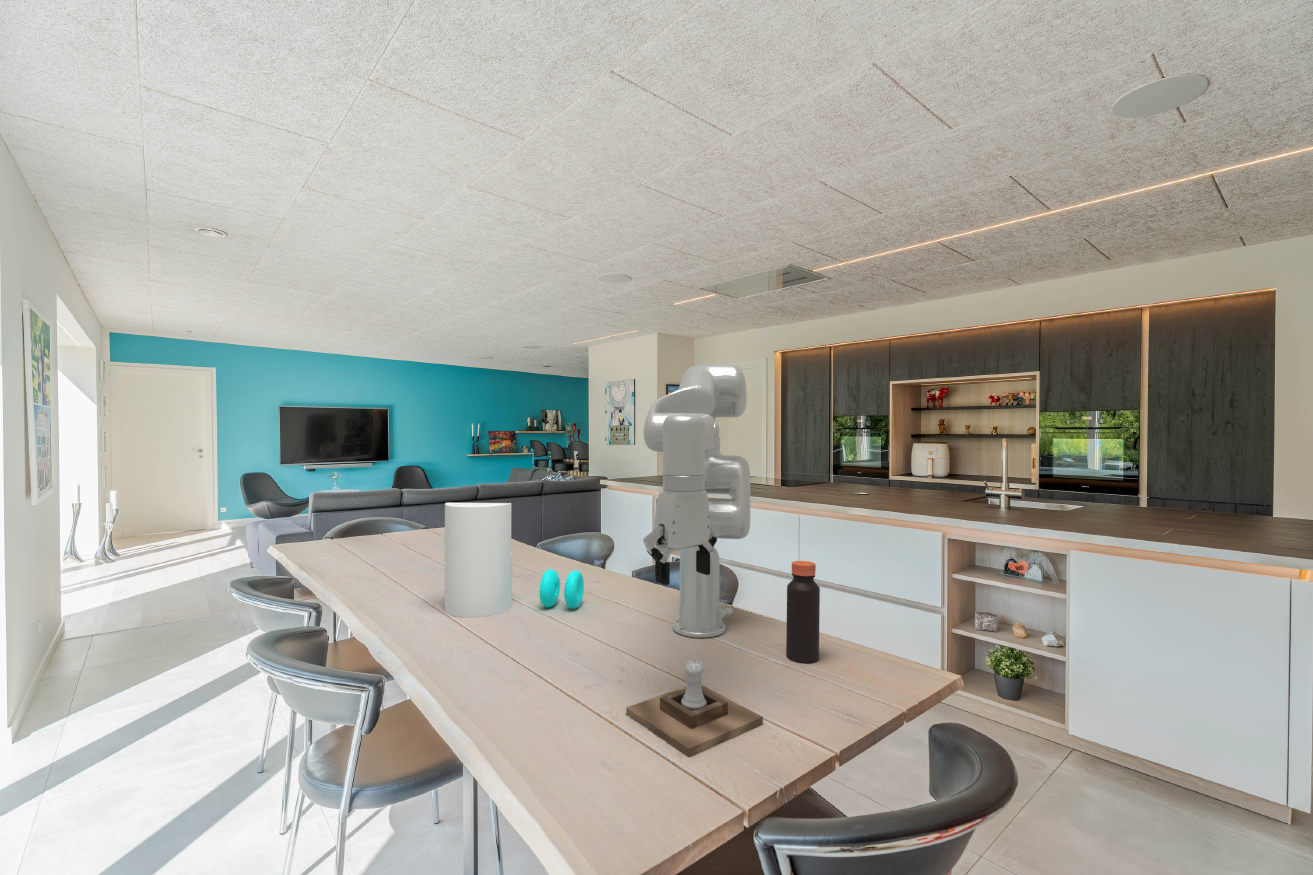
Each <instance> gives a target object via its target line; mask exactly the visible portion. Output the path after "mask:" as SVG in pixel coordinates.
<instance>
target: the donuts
mask: <svg viewBox="0 0 1313 875" xmlns="http://www.w3.org/2000/svg"><path fill="white" fill-rule="evenodd" d="M584 582H585V581H584V576H583V574H582V572H581V571H579V570H576V569H575V570H572V571H571V572H570V573H568V574H567V577H566V579H565V583H564V591H563V593H564V595H563V596H564V602H565V604H566V605H567V607H568V608H570V609H572V610H575V609H578V607H580V605H581V604H582V601H583V595H584V590H585V586H584V585H585V584H584ZM560 591H561V580H560V576H559V573H558V572H557V571H556V570H554V569H552V568H550V569H547V570H545V571H544V573H543V574H542V576H541V579H540V583H539V601H540V603H541V605H542V606H543V607H545V608H552V607H553V606H554V605H555V604H556V603H557V602H558V599H559V596H560V593H561V592H560Z"/></svg>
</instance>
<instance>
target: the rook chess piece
mask: <svg viewBox="0 0 1313 875" xmlns="http://www.w3.org/2000/svg"><path fill="white" fill-rule="evenodd" d="M702 665H703V663H702V662H700V661H699V660H695V662H694V660H690V661H686V665H685V667H684V671H685V672H686V676H685V680H686V686H685V687H686V692H685V694H684V697H683V698H682V700H681V704H682V706H684V707H686V708H687V709H689V710H691V711H694V710H697V709H700V708H702V707H705V706H706V705H707V702H706V700H705V698H704V695H703V693H702V686H701V685H702V680H703V677H702V674H703V672H704V671H705V668H704V667H703V666H702Z"/></svg>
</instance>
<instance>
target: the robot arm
mask: <svg viewBox="0 0 1313 875" xmlns="http://www.w3.org/2000/svg"><path fill="white" fill-rule="evenodd" d="M747 401H748V398H747V381H746V377H745V374H744V372H743V370H742V369H741V368H740V367H739V366H737V365H735V364H732V363H731V364H696V365H691V367H689V368H687V369H686V370H685V371H684V373H683V375H682V377H681V380H680V383H679V386H678V389H676V390H674V391H673V392H670V393H668V394H666V395H663V396H662V397H661V396H660V397H659V398H658V399H657V400H655V401H654V402H652V404H651V405H650V408H649V410H648V412H647V414H646V418H645V421H644V426H643V440H644V443H645V446H646V447H647V448H648V449H649V450H651V451H653V452H658V453H662V491H659V492H658V495H657V499H656V500H657V501H656V505H655V511H654V512H655V513H654V524H653V530H652V531H651V532H650V533H648V534H647V535H646V536H645V537H644V538H643V540H642V542H643V544H644V546H645V548H646V552H647V554H649V556H650V557H651V559H652V561H654V566H655V567H654V577H655V582H656V583H658V584H661V585H662V586H663V585H664V586H668V585H670V582H671V580H670V578H671V577H670V576H671V575H670V573H671V572H670V571H671V570H670V561H668V559H670V556H671V554H672V553H673V551H679V613H678V615H679V616H678V617H679V618H677V619H676V620H674V621H673V623H672V629H673V630H674V632H676V633H677V634H679V635H681V636H686V637H689V638H701V639H702V638H704V639H705V638H713V637H718V636H721V635H722V634H724V633H725V632H726V624H725V623H724V621H723V619H725V618H727V617H731V616H732V615H733V614H734V611H733V609H732V607H726V608H724V609H722V608H721V607H720V564H721V563H720V562H721V561H720V554H719V552H718V551H717V549H716V547H715V545H716V543H717V542H718V539H729V540H741V539H744V538H746V537H747V536H748V534H749V532H750V529H751V470H750V465H749V463H748V461H747V459H746V458H745V457H743V456H740V455H732V454H731V455H723V454H721V436H720V427H719V424H718V422H717V420H716V419H715V418H738V417H741V416H742V415H743V414H744V413H745V411H746V408H747ZM708 495H729V496H730V497H731V498H722V497H721V498H720V497H719V498H717V497H708ZM656 546H657V547H656Z"/></svg>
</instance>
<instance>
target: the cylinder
mask: <svg viewBox="0 0 1313 875" xmlns="http://www.w3.org/2000/svg"><path fill="white" fill-rule="evenodd" d="M512 606H513V553H512V503H511V502H508V503H507V502H445V503H444V613H445V614H446V615H448V616H451V617H456V618H468V619H469V618H470V619H471V618H483V617H490V616H495V615H499V614H502V613H505V612H507V611H509V610H510V609H511V608H512Z"/></svg>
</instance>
